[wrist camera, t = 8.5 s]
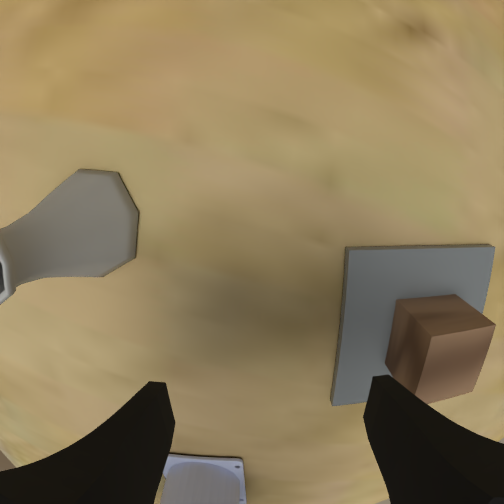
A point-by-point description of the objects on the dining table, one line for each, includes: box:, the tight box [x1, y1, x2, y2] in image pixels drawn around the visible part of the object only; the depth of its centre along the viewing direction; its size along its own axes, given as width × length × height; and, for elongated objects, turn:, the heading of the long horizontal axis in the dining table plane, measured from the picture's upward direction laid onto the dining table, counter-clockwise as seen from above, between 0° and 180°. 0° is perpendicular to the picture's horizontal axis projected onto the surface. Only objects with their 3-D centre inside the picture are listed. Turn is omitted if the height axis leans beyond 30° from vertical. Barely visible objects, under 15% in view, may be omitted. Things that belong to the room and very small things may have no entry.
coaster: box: [330, 244, 495, 406], centre depth 20 cm, size 12×12×1 cm
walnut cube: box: [385, 294, 496, 404], centre depth 17 cm, size 5×5×5 cm
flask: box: [0, 169, 138, 305], centre depth 14 cm, size 7×7×10 cm
